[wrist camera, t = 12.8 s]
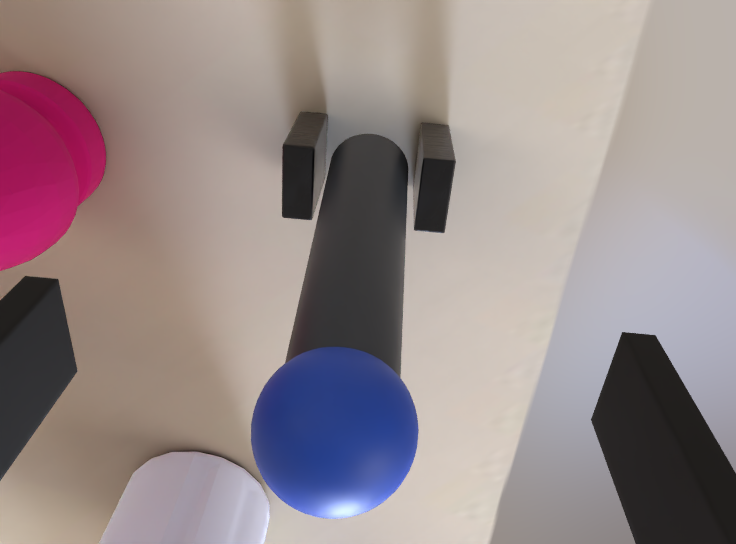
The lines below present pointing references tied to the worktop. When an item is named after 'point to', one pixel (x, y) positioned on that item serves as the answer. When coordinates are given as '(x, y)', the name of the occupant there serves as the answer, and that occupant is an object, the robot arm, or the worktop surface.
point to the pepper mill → (43, 163)
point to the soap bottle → (189, 503)
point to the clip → (309, 161)
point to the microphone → (345, 349)
